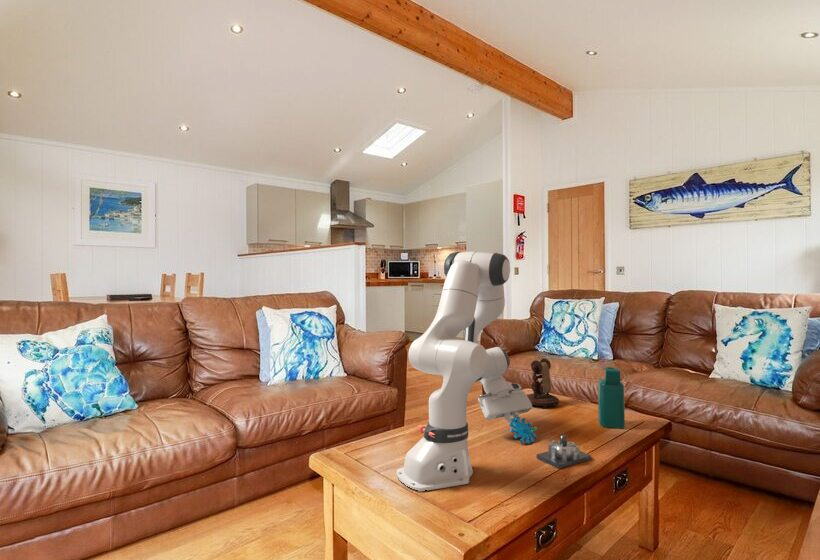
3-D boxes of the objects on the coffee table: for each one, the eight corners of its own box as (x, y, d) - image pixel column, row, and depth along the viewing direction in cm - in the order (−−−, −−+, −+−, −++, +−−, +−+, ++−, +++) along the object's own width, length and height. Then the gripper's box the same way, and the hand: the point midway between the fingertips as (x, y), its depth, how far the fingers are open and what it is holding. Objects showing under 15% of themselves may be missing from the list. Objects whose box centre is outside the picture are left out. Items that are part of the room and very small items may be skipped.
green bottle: (597, 420, 173) (597, 364, 173) (621, 422, 171) (620, 365, 171) (601, 429, 164) (600, 369, 164) (626, 430, 162) (625, 370, 161)
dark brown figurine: (546, 411, 186) (546, 364, 186) (517, 404, 197) (517, 359, 197) (565, 404, 195) (565, 359, 195) (536, 397, 207) (536, 355, 207)
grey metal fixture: (558, 469, 131) (558, 444, 131) (536, 458, 138) (536, 435, 138) (591, 459, 137) (590, 436, 137) (568, 449, 145) (568, 427, 145)
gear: (517, 442, 147) (507, 415, 154) (508, 450, 151) (499, 423, 158) (544, 442, 152) (532, 415, 158) (534, 450, 155) (524, 423, 162)
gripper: (479, 390, 158) (497, 426, 149) (523, 383, 168) (542, 416, 159) (472, 400, 162) (489, 435, 153) (515, 392, 172) (533, 425, 163)
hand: (517, 425), depth 156 cm, fingers closed
